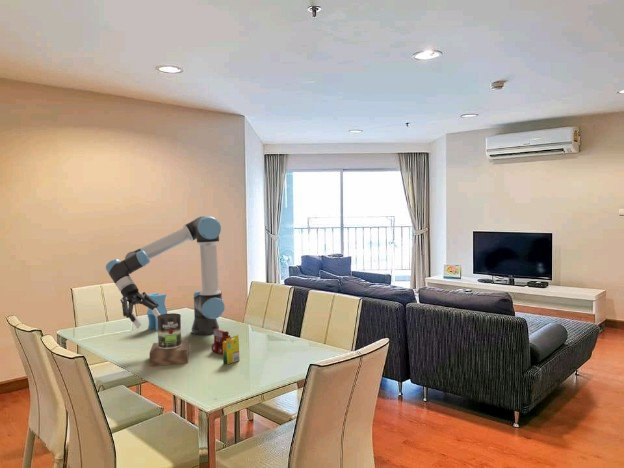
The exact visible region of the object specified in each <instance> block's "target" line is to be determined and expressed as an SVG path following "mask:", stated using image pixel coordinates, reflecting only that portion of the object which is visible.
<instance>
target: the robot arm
mask: <svg viewBox="0 0 624 468" xmlns="http://www.w3.org/2000/svg"><path fill="white" fill-rule="evenodd" d="M221 231H222V225H221V223H220V221H219V220H218V219H217V218H215V217H213V216H210V215H209V216H208V215H207V216H199V217H197V218H195V219H193V220H191V221H190V222H188V223H185V224H184V225H183V227H182V228H180V229H177V230H176V231H173V232H171V233H169V234H168V235H165V236H163V237H160V238H159V239H156V240H154V241H152V242H150V243H148V244H146V245H143V246H142V247H140V248H138V249H136V250H133V251H129V252H127V254H126V255H125V257H124V259H122V260H120V259H118V258H114V259H112V260H110V261H108V262H107V264H105V270H106V272H107V273H108V275H109V277H110V278H111V280H112V282H113V283H114V284H115V286H116V287H117V289H118V291H119V292H120V294H121V296H122V297H121V299H120V300H119V301H120V303H121V305H122V306H121V309H122V315H123V317H126V318H127V319H129V320H130V321H131V323H133V324H134V326H135V328H136V329H139V328H140V327H141V326H142V323H141V322H140V320H139V318H138V317H137V316H136V314H135V313H134V306H135V305H139V304H140V305H143V306H144V307H146V308H147V309H148V308H150V309H152V312H153V314H154V315H155V317H156V318H157V316H159V315H160V312H159V310H158V309H157V307H158V306H159V304H158V303H156V302H155V301H154V300H153V299H151V298H150V297H149V296H148V295H149V294H147V293H146V292H145V291H144V292H142V293H140V292H139V288H138V287H137V284H135V282H134V280H133V278H132V277H131V276H130V274H132V273H134V272H135V271H137V270H139V269H141V268H144V267H145V266H147V265H148V264H149V263H150V262H151V261H150V260H151V259H153V258H156V257H157V256H160V255H162V254H163V253H165V252H168V251H170V250H173V249H174V248H176V247H179V246H181V245H182V244H185V243H186V242H189V241H190V242H193V241H195V240H196V244H198V245H199V251H200V254H199V255H200V273H201V290H199V291H195V292H194V293H193V308H194V309H193V310H194V313H193V315H194V316H193V318H194V319H193V322H192V326H191V334H193V335H210V334H211V335H212V334H214V330H215V329H218V330H220V326H219V323H218V320H217V319H218V318H220V317H221V316H222V315H223V313H224V312H225V310H226V309H225V308H226V307H225V303H224V300H223V296H222V291H221V290H220V288H219V270H218V269H219V268H218V249H217V246H218V245H217V244H218V243H220V234H221ZM157 320H158V319H157Z"/></svg>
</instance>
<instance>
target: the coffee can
mask: <svg viewBox="0 0 624 468" xmlns="http://www.w3.org/2000/svg"><path fill="white" fill-rule="evenodd" d="M181 316H182V314H179V313H170V312H169V313H167V314H162V315H159V316H157V319H158V331H157V341H158V342H157V343H158V348H160V349H174V348H178V347H180V346H181V341H182V327H181V323H182V322H181V321H182V320H181Z"/></svg>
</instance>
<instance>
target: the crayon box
mask: <svg viewBox="0 0 624 468" xmlns="http://www.w3.org/2000/svg"><path fill="white" fill-rule="evenodd" d="M230 339H231V340H230ZM222 361H223V364H225V365H230V364H232V363H236V362H238V361H240V341H239V334H237V335H234V336H230V338H227V339H226V341H224V342H223V355H222Z"/></svg>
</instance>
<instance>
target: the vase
mask: <svg viewBox="0 0 624 468" xmlns="http://www.w3.org/2000/svg"><path fill="white" fill-rule="evenodd" d="M147 295H148V296H149V297H150V298H151V299H153V300H154V301H155V302H156V303H158V304H159V306H158V307H157V309H158V310H159V312H160V315H162V314H168V311H167V308H166V304H165V303H166V302H165V301H166V296H167V293H163V294H159V292H155V293H150V294H147ZM146 315H147V319H148V326H147V330H151V329H155V332H158V320H157V318H156V317H155V315H154V314H153V312H152V309H150V308H148V307H147V311H146Z"/></svg>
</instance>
